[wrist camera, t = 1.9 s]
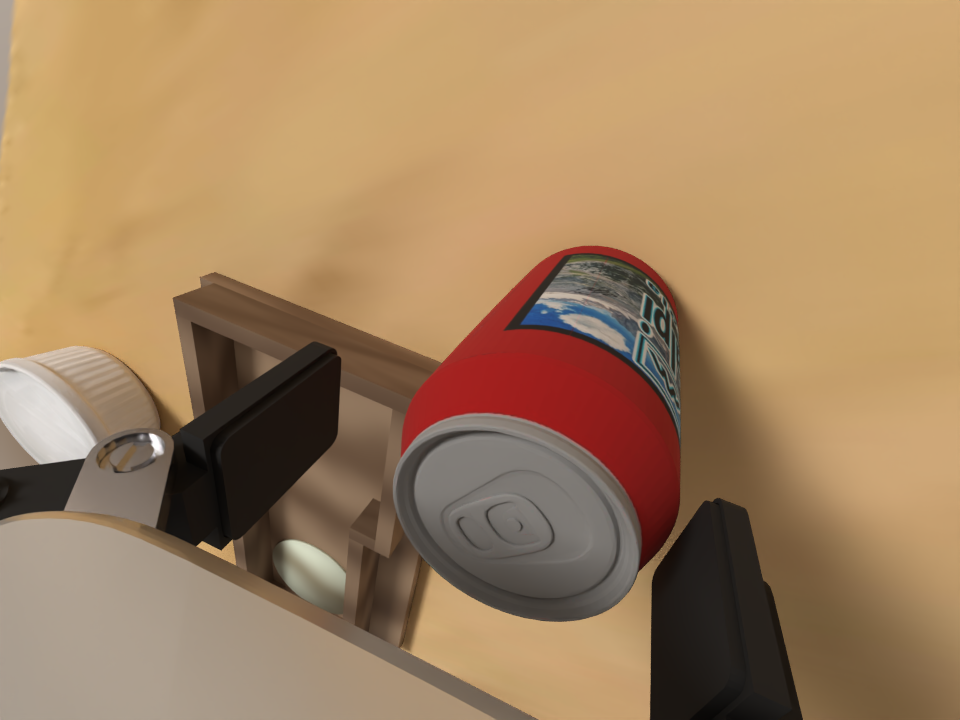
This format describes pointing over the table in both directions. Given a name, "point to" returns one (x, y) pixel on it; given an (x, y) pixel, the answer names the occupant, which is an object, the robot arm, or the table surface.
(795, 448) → the table surface
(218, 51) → the table surface
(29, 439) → the ramekin
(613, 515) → the beverage can
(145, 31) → the table surface
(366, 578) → the brown wooden tray
